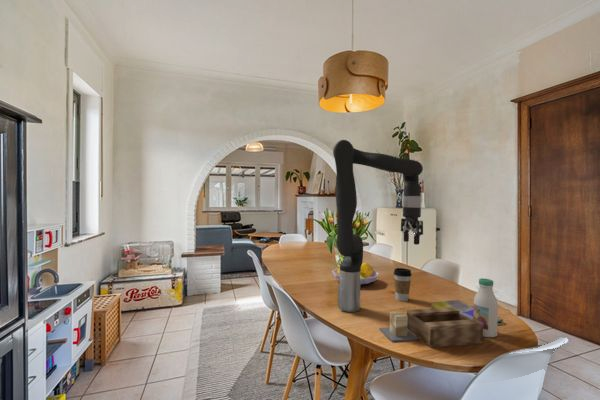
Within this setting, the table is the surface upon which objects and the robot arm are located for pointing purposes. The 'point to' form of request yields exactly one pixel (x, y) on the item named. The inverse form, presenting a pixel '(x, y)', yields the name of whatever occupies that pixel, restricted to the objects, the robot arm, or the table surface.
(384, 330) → the slate pad
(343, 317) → the table surface
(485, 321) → the milk bottle
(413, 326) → the walnut box
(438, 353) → the table surface
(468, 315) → the dish towel
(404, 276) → the coffee cup
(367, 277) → the fruit bowl
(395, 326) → the maple block
